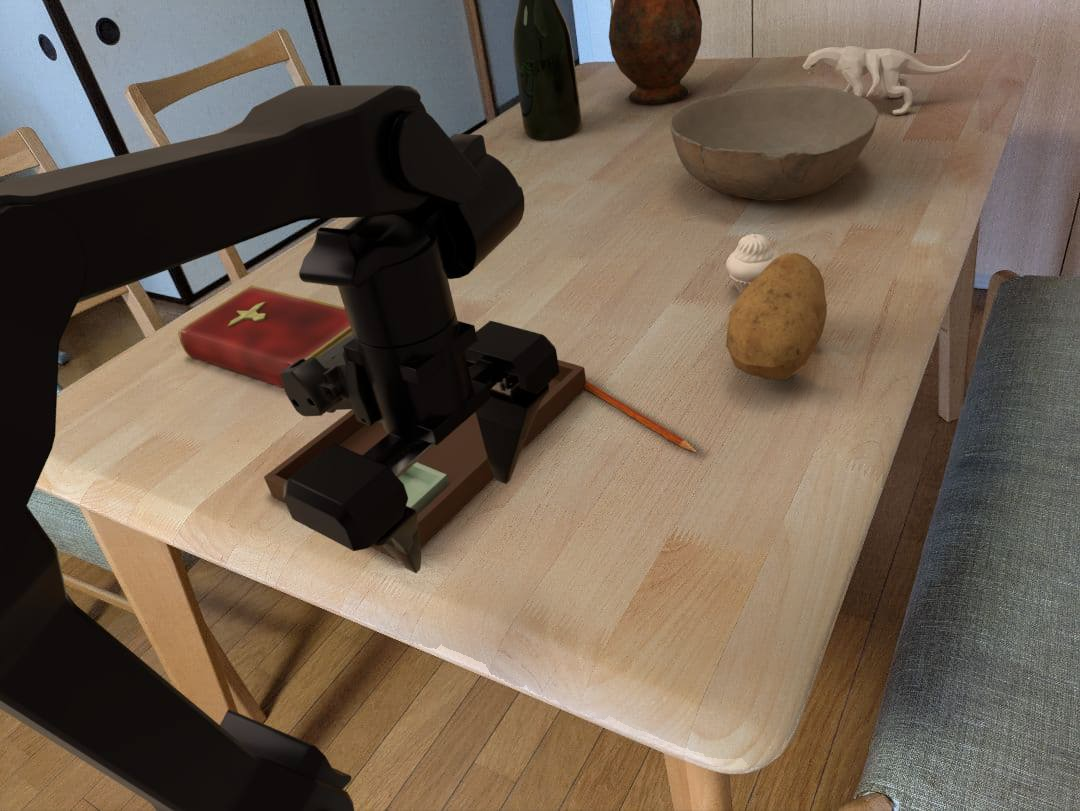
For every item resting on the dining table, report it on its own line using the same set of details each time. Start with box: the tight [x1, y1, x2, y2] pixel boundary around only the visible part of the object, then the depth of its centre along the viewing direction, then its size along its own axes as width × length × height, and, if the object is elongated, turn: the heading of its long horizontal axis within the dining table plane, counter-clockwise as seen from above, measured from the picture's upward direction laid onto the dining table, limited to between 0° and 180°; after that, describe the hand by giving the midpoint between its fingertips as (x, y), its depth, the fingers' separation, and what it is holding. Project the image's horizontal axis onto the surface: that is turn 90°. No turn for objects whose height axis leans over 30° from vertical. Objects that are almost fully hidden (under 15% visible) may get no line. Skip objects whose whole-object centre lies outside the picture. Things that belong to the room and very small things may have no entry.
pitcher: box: [608, 0, 703, 106], centre depth 149 cm, size 17×21×30 cm
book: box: [177, 284, 353, 389], centre depth 100 cm, size 12×21×4 cm, turn 57°
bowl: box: [669, 85, 879, 201], centre depth 118 cm, size 28×28×10 cm
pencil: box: [584, 380, 697, 453], centre depth 82 cm, size 1×18×1 cm, turn 37°
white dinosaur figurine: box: [802, 45, 972, 116], centre depth 135 cm, size 12×25×10 cm, turn 76°
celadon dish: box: [399, 462, 449, 515], centre depth 74 cm, size 6×6×2 cm
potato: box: [725, 252, 828, 380], centre depth 83 cm, size 9×16×9 cm, turn 149°
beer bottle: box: [512, 0, 582, 141], centre depth 141 cm, size 10×10×33 cm
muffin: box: [725, 233, 781, 294], centre depth 95 cm, size 6×6×7 cm
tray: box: [263, 359, 587, 560], centre depth 82 cm, size 28×18×2 cm, turn 144°
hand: (459, 522), depth 55 cm, fingers open, 9 cm apart
